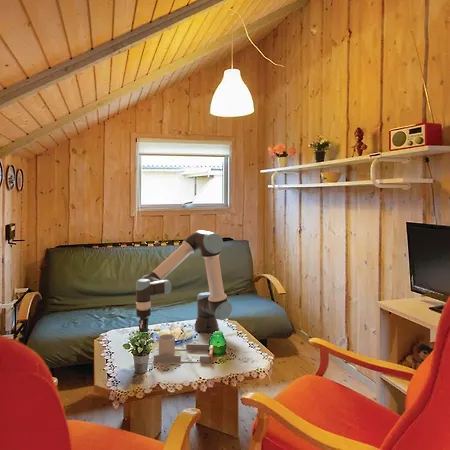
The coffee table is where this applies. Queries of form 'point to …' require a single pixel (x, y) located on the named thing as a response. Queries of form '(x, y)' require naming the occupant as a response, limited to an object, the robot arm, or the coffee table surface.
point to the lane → (188, 347)
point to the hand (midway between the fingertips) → (144, 350)
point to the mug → (167, 344)
